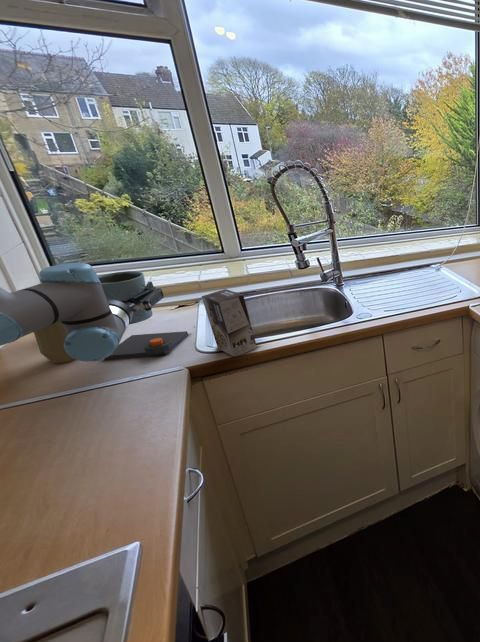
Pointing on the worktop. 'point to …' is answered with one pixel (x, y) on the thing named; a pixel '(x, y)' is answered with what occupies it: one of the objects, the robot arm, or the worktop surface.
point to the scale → (147, 345)
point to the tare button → (156, 342)
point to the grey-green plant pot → (125, 290)
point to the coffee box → (229, 321)
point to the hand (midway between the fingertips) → (127, 289)
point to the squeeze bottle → (53, 343)
